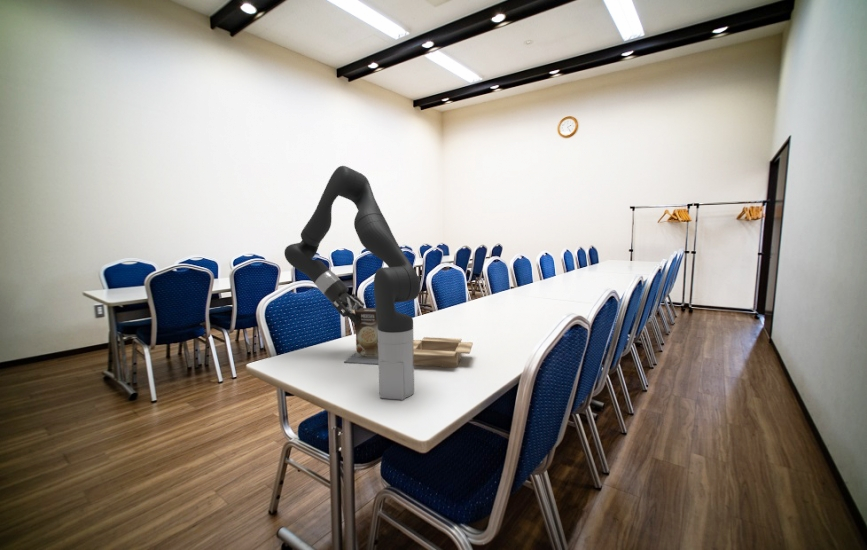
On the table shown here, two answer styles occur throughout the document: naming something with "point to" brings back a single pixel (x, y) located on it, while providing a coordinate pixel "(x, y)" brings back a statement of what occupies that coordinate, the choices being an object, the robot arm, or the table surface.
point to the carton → (440, 351)
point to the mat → (362, 360)
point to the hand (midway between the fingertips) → (363, 320)
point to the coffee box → (367, 333)
